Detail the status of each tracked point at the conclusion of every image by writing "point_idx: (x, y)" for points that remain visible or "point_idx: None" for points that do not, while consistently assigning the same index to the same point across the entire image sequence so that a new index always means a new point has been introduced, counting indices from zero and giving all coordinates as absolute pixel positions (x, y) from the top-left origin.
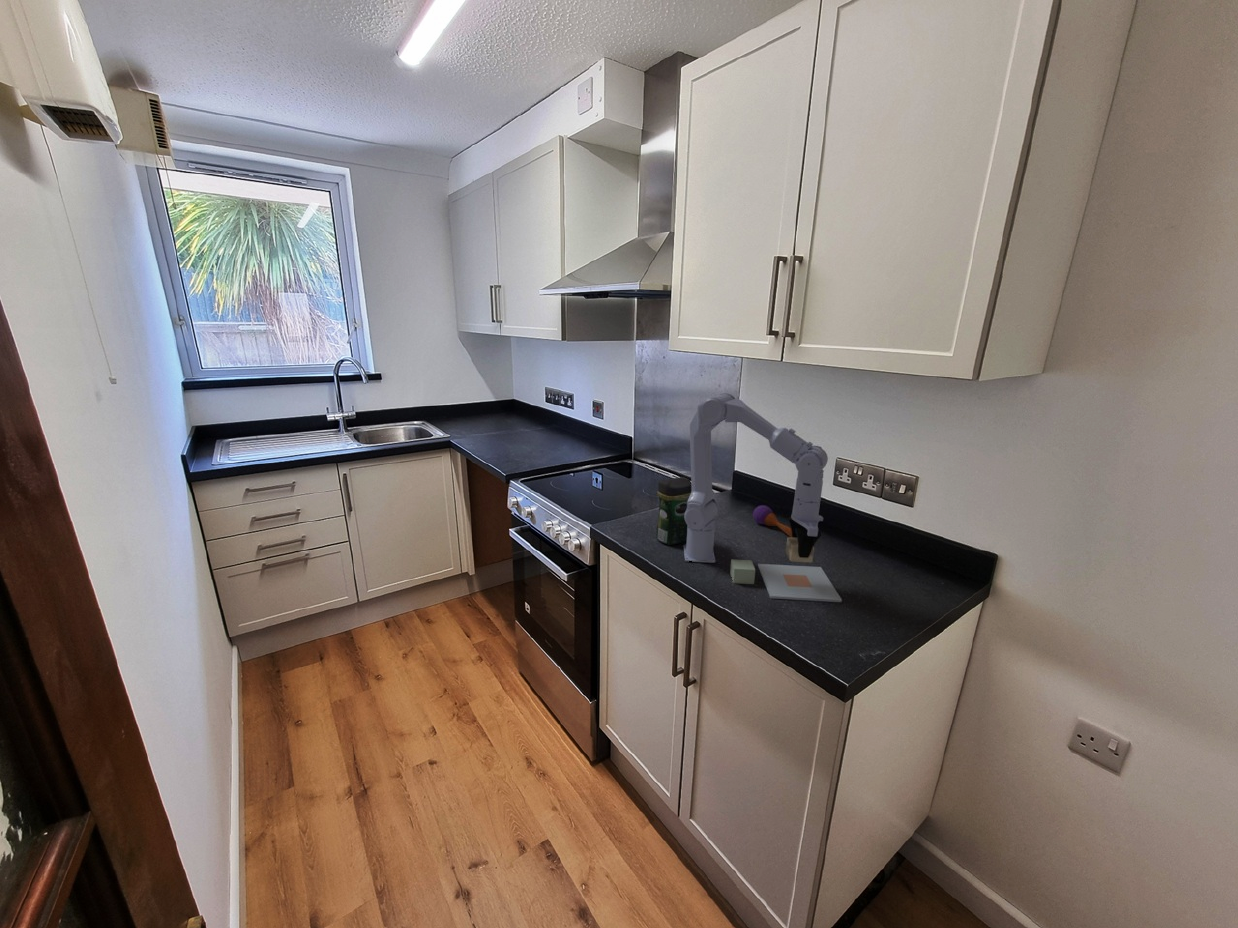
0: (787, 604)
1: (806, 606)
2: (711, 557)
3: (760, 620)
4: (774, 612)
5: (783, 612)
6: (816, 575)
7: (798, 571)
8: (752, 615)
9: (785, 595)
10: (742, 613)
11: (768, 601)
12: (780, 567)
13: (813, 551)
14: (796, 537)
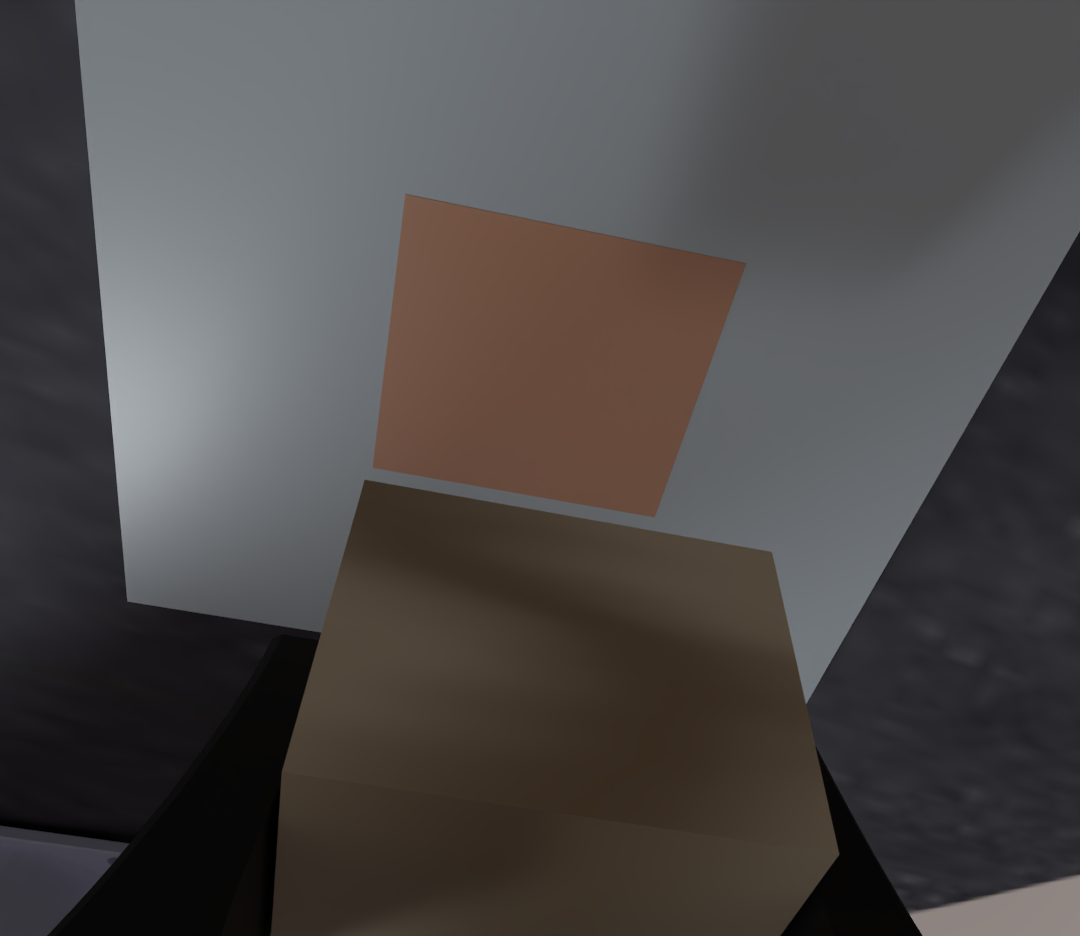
0: (944, 610)
1: (1052, 475)
2: (74, 863)
3: (1067, 830)
4: (1015, 732)
5: (1047, 680)
6: (403, 22)
7: (280, 245)
8: (985, 847)
9: (832, 605)
10: (935, 882)
11: (841, 715)
12: (186, 421)
13: (811, 750)
14: (259, 926)
